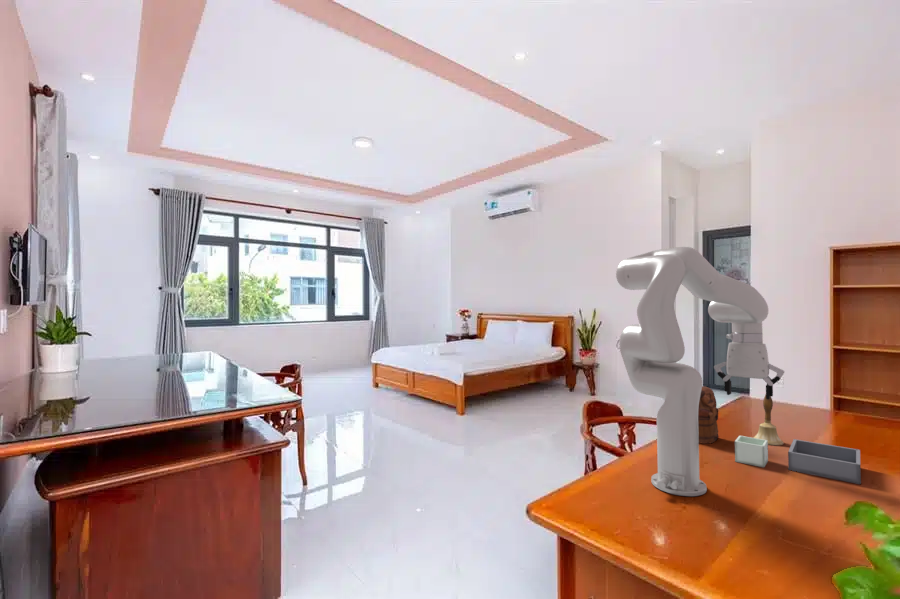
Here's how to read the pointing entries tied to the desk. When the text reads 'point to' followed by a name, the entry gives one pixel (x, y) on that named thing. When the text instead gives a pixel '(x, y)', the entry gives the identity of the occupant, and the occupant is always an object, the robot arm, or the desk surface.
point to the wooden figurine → (707, 416)
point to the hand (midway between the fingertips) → (748, 396)
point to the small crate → (751, 451)
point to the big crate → (825, 461)
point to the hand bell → (768, 426)
